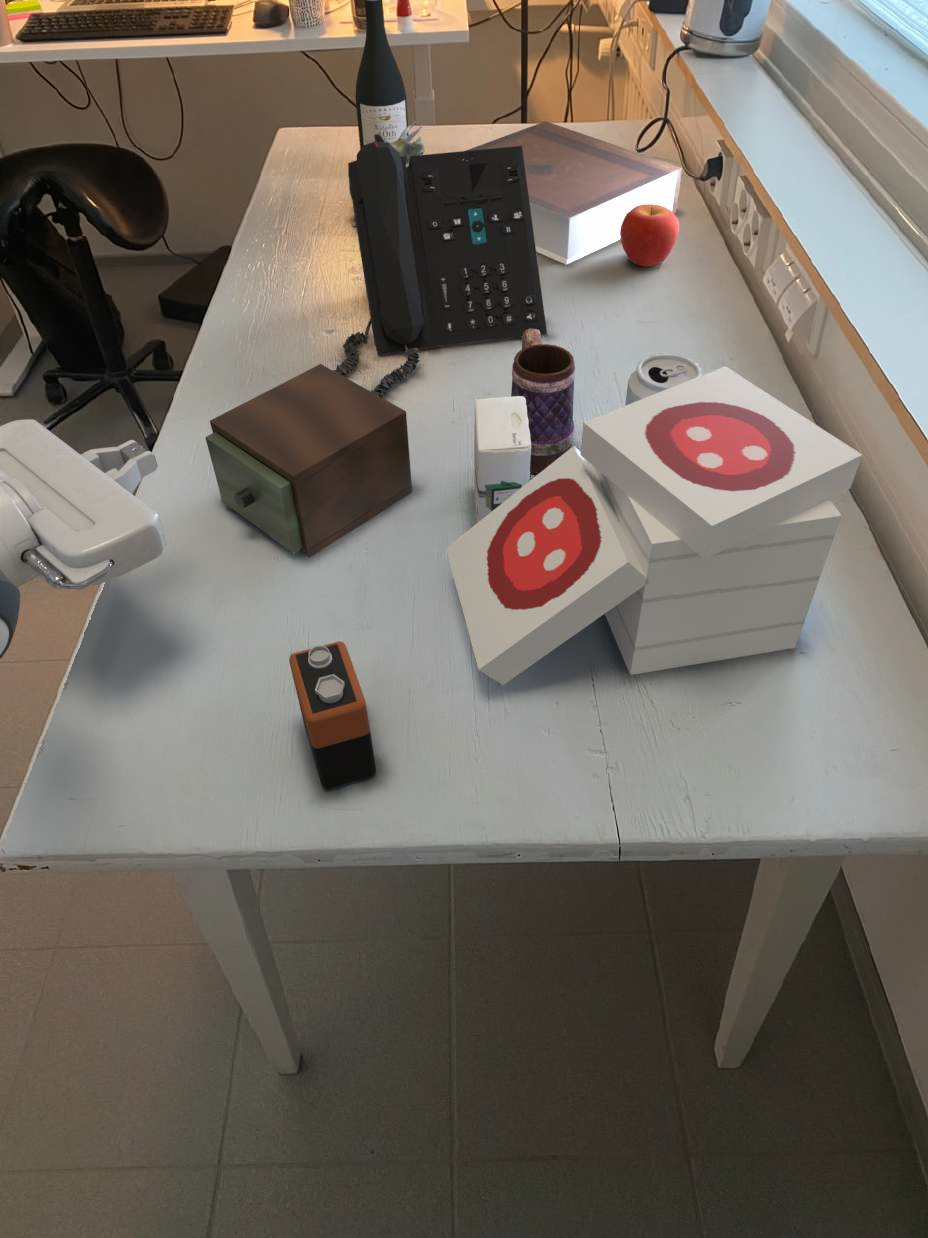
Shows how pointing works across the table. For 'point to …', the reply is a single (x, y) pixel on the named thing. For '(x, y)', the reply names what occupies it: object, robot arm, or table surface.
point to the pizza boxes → (661, 534)
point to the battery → (333, 714)
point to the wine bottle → (379, 84)
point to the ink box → (500, 451)
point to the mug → (545, 397)
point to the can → (660, 375)
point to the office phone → (443, 251)
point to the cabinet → (326, 450)
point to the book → (585, 187)
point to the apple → (649, 234)
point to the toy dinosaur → (403, 146)
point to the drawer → (255, 491)
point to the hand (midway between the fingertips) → (146, 453)
